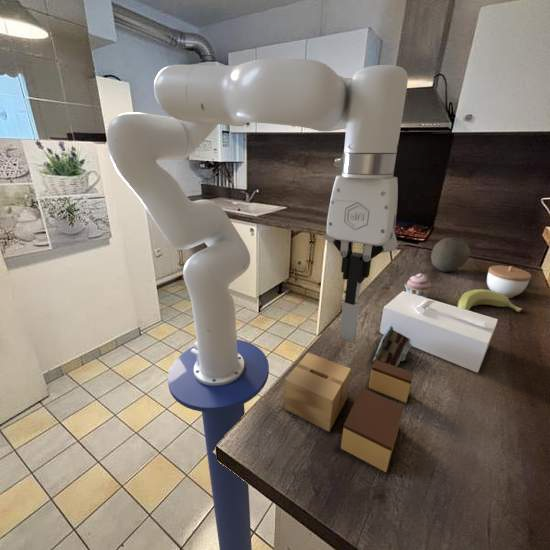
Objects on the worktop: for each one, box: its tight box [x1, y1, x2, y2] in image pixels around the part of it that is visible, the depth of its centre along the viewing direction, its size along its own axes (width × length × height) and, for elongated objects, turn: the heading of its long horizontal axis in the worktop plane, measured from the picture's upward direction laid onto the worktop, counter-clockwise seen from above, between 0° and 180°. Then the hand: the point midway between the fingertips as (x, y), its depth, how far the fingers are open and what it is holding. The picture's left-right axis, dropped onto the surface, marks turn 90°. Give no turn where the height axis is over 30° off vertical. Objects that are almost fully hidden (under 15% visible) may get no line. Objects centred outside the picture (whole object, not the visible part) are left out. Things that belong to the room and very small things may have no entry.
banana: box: [457, 288, 523, 314], centre depth 98 cm, size 14×6×20 cm
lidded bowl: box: [486, 265, 532, 299], centre depth 108 cm, size 13×13×11 cm
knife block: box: [284, 352, 352, 432], centre depth 60 cm, size 10×10×8 cm
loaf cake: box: [340, 387, 405, 473], centre depth 53 cm, size 8×10×6 cm
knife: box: [338, 251, 363, 345], centre depth 53 cm, size 3×2×18 cm
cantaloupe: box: [430, 236, 471, 273], centre depth 128 cm, size 14×14×15 cm
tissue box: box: [379, 290, 499, 374], centre depth 81 cm, size 14×25×11 cm, turn 47°
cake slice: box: [368, 359, 415, 404], centre depth 64 cm, size 8×3×6 cm, turn 57°
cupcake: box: [403, 272, 434, 298], centre depth 105 cm, size 9×9×10 cm
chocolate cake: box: [372, 324, 413, 367], centre depth 76 cm, size 10×7×12 cm
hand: (354, 277), depth 51 cm, fingers closed on knife, 1 cm apart
